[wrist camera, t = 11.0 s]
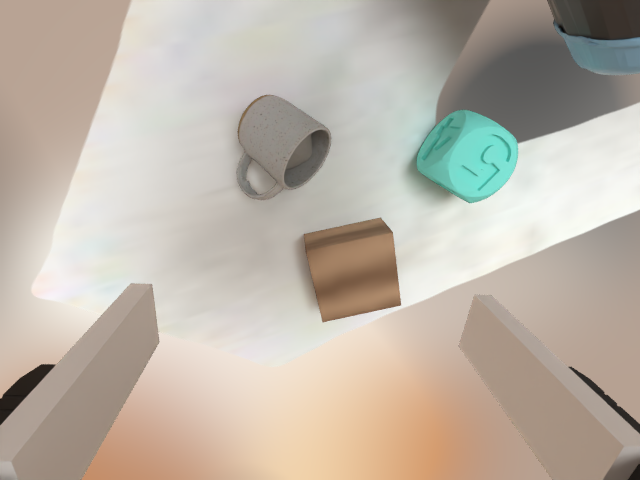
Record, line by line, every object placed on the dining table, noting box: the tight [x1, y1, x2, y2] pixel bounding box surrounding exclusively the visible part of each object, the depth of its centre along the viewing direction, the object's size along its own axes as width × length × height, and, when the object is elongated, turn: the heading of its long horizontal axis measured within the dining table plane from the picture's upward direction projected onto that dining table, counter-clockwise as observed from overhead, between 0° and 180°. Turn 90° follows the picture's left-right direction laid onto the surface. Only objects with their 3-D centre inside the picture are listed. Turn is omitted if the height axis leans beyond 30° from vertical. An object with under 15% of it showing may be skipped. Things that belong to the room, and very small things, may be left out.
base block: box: [304, 218, 401, 322], centre depth 44 cm, size 11×11×6 cm
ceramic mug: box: [237, 95, 331, 200], centre depth 35 cm, size 11×8×8 cm
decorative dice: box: [417, 110, 518, 203], centre depth 38 cm, size 8×8×8 cm
